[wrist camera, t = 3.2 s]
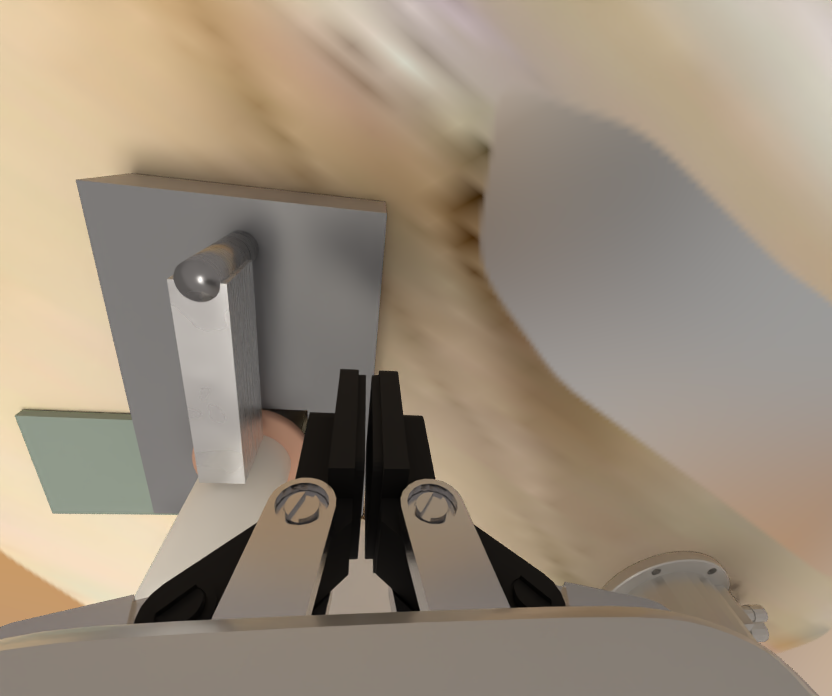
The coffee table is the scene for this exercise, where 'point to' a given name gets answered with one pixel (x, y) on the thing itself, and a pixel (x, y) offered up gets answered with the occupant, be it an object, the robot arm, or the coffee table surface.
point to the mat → (87, 461)
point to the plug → (228, 501)
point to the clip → (220, 356)
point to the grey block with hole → (273, 289)
